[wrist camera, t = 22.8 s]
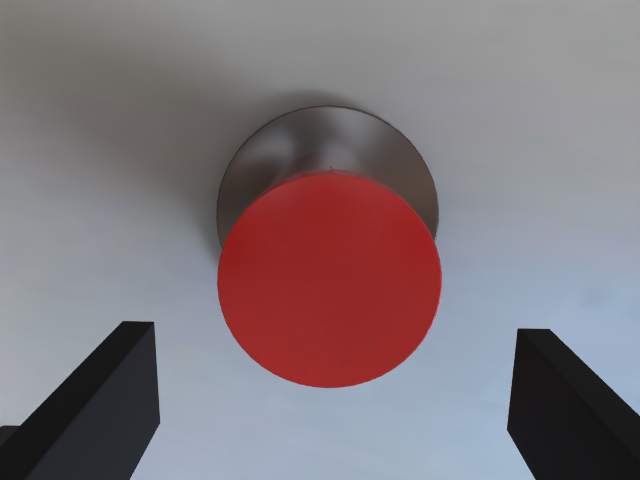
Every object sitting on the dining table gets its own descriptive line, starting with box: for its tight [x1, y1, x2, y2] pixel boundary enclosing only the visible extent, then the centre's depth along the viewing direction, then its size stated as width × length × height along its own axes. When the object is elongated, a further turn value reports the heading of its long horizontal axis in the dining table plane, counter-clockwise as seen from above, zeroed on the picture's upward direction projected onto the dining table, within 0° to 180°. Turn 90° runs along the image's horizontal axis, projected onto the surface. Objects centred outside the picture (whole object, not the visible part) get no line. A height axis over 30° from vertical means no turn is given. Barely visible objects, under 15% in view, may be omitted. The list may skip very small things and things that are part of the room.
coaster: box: [216, 106, 439, 250], centre depth 32 cm, size 13×13×1 cm
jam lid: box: [217, 166, 442, 388], centre depth 20 cm, size 8×8×2 cm
